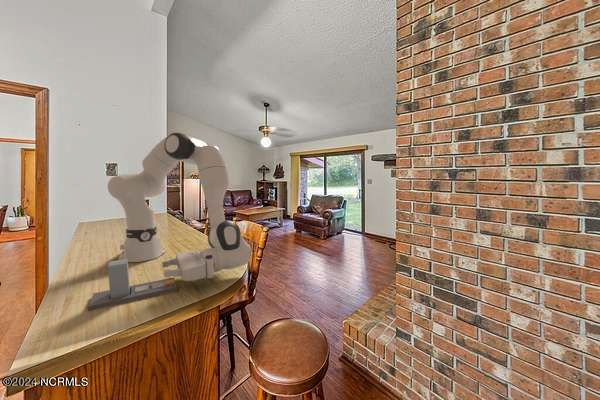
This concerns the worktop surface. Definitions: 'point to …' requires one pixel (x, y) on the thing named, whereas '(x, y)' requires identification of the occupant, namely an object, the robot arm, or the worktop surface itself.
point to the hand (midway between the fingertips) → (163, 269)
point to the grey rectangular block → (119, 278)
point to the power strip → (133, 293)
